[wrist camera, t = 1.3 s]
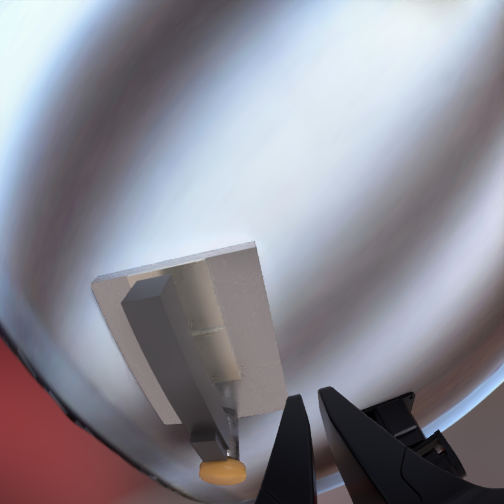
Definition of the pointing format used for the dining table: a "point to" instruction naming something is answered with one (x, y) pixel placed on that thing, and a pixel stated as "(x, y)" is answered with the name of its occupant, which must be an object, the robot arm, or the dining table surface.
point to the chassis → (210, 330)
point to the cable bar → (182, 374)
